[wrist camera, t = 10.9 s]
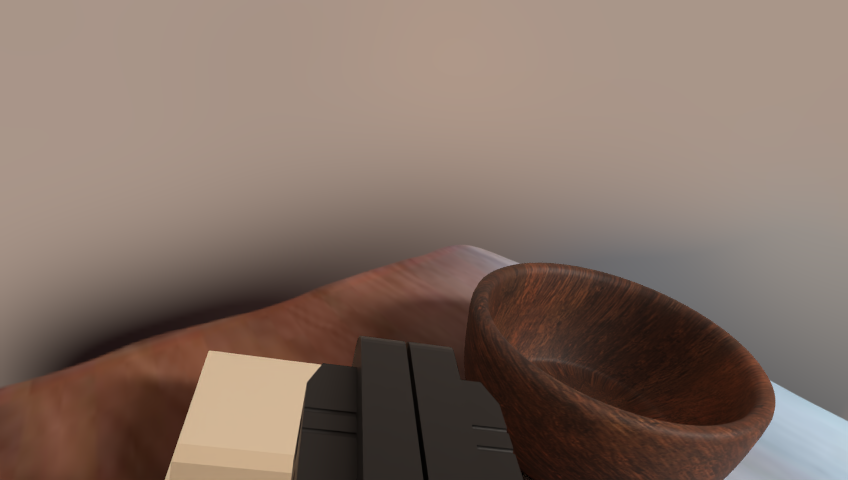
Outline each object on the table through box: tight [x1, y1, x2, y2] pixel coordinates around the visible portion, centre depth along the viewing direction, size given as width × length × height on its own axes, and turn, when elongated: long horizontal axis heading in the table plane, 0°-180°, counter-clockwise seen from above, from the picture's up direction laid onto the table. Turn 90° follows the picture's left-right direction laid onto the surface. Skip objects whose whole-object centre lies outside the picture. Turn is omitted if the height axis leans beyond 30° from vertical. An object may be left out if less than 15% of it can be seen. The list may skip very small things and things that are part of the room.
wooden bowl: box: [464, 263, 775, 480], centre depth 56 cm, size 25×25×10 cm
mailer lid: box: [165, 351, 321, 480], centre depth 36 cm, size 19×13×9 cm
